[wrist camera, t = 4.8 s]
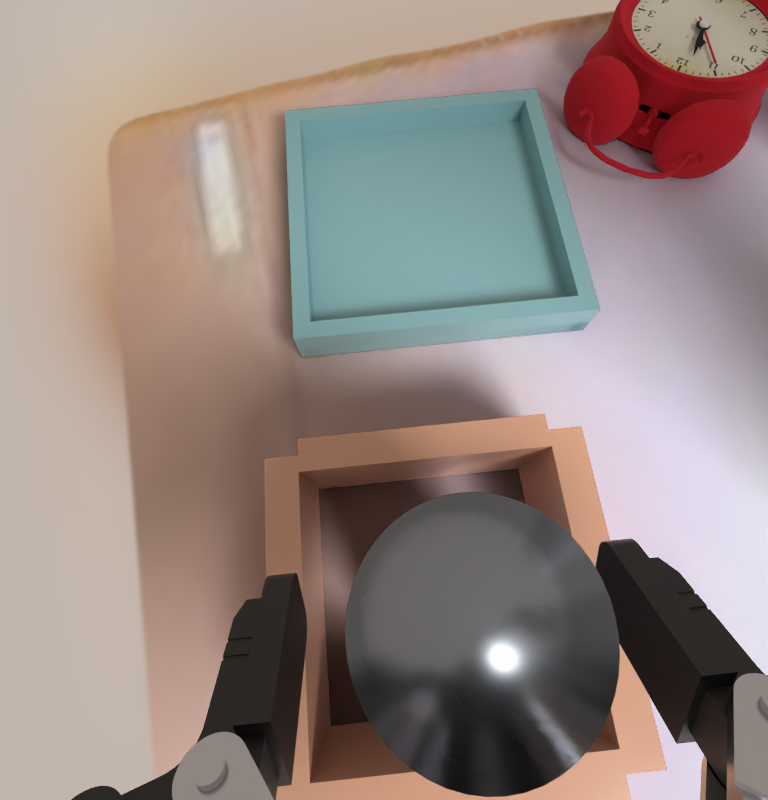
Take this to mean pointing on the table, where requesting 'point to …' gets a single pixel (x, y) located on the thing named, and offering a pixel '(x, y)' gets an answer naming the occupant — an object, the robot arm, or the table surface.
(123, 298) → the table surface
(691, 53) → the alarm clock
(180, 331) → the table surface
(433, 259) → the teal tray
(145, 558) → the table surface
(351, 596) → the canister
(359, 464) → the light orange open box
